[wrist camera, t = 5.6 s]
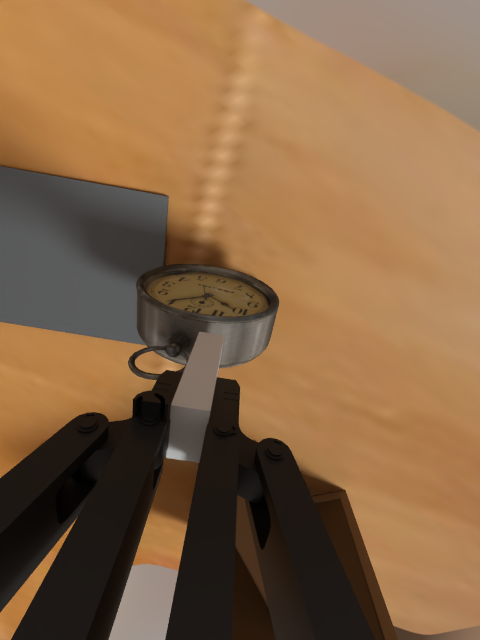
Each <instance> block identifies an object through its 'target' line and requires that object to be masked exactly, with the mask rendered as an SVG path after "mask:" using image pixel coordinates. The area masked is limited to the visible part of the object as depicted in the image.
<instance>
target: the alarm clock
mask: <svg viewBox="0 0 480 640" xmlns="http://www.w3.org/2000/svg"><path fill="white" fill-rule="evenodd" d="M136 289H137V330H138V333H139V336H140V337H141V339H142V340H143V342H144V343H145V344H146V345H147V346H148V347H147V348H144V349H141V350H139V351H137V352H135V353H134V354H133V355H132V356H131V357H130V358H129V361H128V365H129V368H130V370H131V371H132V372H133V373H134V374H136V375H137V376H140V377H142V378H146V379H152V380H157V379H158V377H159V375H161V374H152V373H146V372H143V371H141V370H139V369H138V368H137V367H136V366H135V359H136V358H137V357H138V356H139V355H141V354H143V353H146V352H150V351H154V352H155V353H157V354H159V355H160V356H162V357H164V358H166V359H168V360H171V361H173V362H176V363H179V364H183V365H187V362H188V360H189V357H190V354H191V352H192V349H193V347H194V344H195V342H196V339H197V336H198V334H199V332H205V333H211V334H217V335H223V336H224V340H223V346H222V352H221V358H220V364H219V368H228V367H233V366H238V365H241V364H244V363H247V362H249V361H251V360H253V359H254V358H256V357H257V356H259V355H260V354H261V353H262V352H263V351H264V350H265V349H266V347H267V346H268V344H269V341H270V337H271V334H272V330H273V326H274V322H275V318H276V314H277V310H278V306H279V299H278V296H277V295H276V293H275V292H274V291H273V289H272V288H270V287H269V286H268V285H266V284H265V283H264V282H262V281H260V280H258V279H256V278H254V277H251V276H249V275H247V274H244V273H241V272H238V271H234V270H230V269H226V268H221V267H215V266H208V265H198V264H196V265H195V264H175V265H166V266H161V267H157V268H154V269H151V270H149V271H147V272H145V273H144V274H142V275H141V276H140V277H139V278H138V280H137V282H136ZM185 367H186V366H185ZM185 367H184V368H182V369H181V370H179V371H176V372H182V373H184V370H185Z"/></svg>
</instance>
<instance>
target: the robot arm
mask: <svg viewBox="0 0 480 640" xmlns="http://www.w3.org/2000/svg"><path fill="white" fill-rule="evenodd" d="M223 340H224V336H223V335H217V334H211V333H205V332H199V334H198V336H197V339H196V342H195V344H194V347H193V349H192V352H191V354H190V357H189V360H188V362H187V365H186V367H185V370H184V373H182V372H175V371H169V370H166V371H165V372H163V373H162V374H161V375H159V377H158V379H157V381H156V383H155V385H154V387H153V389H152V391H145V392H142V393H140V394H138V395H136V396H135V398H134V399H133V416H132V418H130V419H127V420H122V421H113V422H109V421H108V419H107V417H106V416H105V415H103V414H101V413H96V412H92V413H85V414H82V415H79V416H77V417H76V418H74V419H73V420H71V421H70V422H69V423H68V424H66V425H65V426H64V427H63V428H61V429H60V430H59V431H58V432H57V433H55V434H54V435H53V436H52V437H50V438H49V439H48V440H47V441H46V442H44V443H43V444H42V445H41V446H39V447H38V448H37V449H36V450H34V451H33V452H32V453H31V454H30V455H28V456H27V457H26V458H25V459H23V460H22V461H21V462H20V463H19V464H17V465H16V466H15V467H14V468H12V469H11V470H10V471H9V472H7V473H6V474H5V475H4V476H3V477H1V478H0V612H1V611H2V610H3V608H4V607H5V606H6V605H7V603H8V602H9V601H10V600H11V599H12V597H13V596H14V595H15V594H16V592H17V591H18V590H19V589H20V587H21V586H22V585H23V584H24V582H25V581H26V580H27V579H28V578H29V576H30V575H31V574H32V573H33V571H34V570H35V569H36V568H37V566H38V565H39V564H40V563H41V561H42V560H43V559H44V558H45V557H46V555H47V554H48V553H49V552H50V550H51V549H52V548H53V547H54V545H55V544H56V543H57V542H58V541H59V539H60V538H61V537H62V536H63V534H64V533H65V532H66V531H67V529H68V528H69V527H70V526H71V524H72V523H73V522H74V521H75V520H76V521H75V523H74V525H73V527H72V529H71V530H70V532H69V534H68V536H67V538H66V540H65V541H64V543H63V545H62V547H61V549H60V551H59V552H58V554H57V556H56V558H55V560H54V562H53V563H52V565H51V567H50V569H49V571H48V573H47V575H46V576H45V578H44V580H43V582H42V584H41V586H40V587H39V589H38V591H37V593H36V595H35V597H34V598H33V600H32V602H31V604H30V606H29V608H28V609H27V611H26V613H25V615H24V617H23V619H22V620H21V622H20V624H19V626H18V628H17V630H16V631H15V633H14V635H13V637H12V639H11V640H108V639H109V636H110V633H111V630H112V626H113V623H114V620H115V617H116V614H117V611H118V608H119V605H120V602H121V598H122V595H123V592H124V589H125V586H126V583H127V580H128V577H129V573H130V570H131V567H132V564H133V561H134V558H135V555H136V552H137V549H138V545H139V542H140V539H141V536H142V533H143V530H144V527H145V524H146V520H147V517H148V514H149V511H150V508H151V505H152V502H153V499H154V495H155V492H156V489H157V486H158V483H159V480H160V477H161V474H162V470H163V461H164V458H165V455H166V458H170V459H177V460H184V461H191V462H198V463H199V467H198V473H197V478H196V483H195V488H194V493H193V499H192V504H191V509H190V514H189V519H188V525H187V530H186V535H185V540H184V545H183V551H182V556H181V561H180V566H179V571H178V577H177V582H176V587H175V592H174V597H173V603H172V608H171V613H170V618H169V624H168V629H167V634H166V639H165V640H232V618H233V593H234V568H235V543H236V517H237V495H238V496H240V497H242V498H244V499H245V505H246V509H247V514H248V518H249V523H250V527H251V532H252V536H253V540H254V545H255V549H256V554H257V558H258V563H259V567H260V572H261V576H262V581H263V585H264V590H265V594H266V598H267V603H268V607H269V612H270V616H271V621H272V625H273V630H274V634H275V639H276V640H375V638H374V636H373V633H372V631H371V629H370V627H369V624H368V622H367V620H366V618H365V616H364V613H363V611H362V609H361V607H360V604H359V602H358V600H357V598H356V595H355V593H354V591H353V589H352V586H351V584H350V582H349V580H348V577H347V575H346V573H345V571H344V568H343V566H342V564H341V562H340V560H339V557H338V555H337V553H336V551H335V548H334V546H333V544H332V542H331V539H330V537H329V535H328V533H327V530H326V528H325V526H324V524H323V521H322V519H321V517H320V515H319V512H318V510H317V508H316V506H315V504H314V501H313V499H312V497H311V495H310V492H309V490H308V488H307V486H306V483H305V481H304V479H303V477H302V474H301V472H300V470H299V468H298V465H297V463H296V461H295V459H294V456H293V454H292V452H291V450H290V449H289V447H288V446H287V445H286V444H285V443H283V442H282V441H280V440H278V439H274V438H267V439H263V440H262V441H260V442H259V443H258V442H256V441H253V440H251V439H250V438H248V437H246V436H245V435H244V434H243V433H242V432H241V430H240V428H239V423H238V422H239V400H240V386H239V384H238V383H237V381H236V380H230V379H224V378H218V377H217V376H218V370H219V364H220V358H221V352H222V346H223ZM166 452H167V453H166ZM77 517H78V518H77ZM76 518H77V519H76Z"/></svg>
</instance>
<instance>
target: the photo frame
mask: <svg viewBox="0 0 480 640" xmlns="http://www.w3.org/2000/svg"><path fill="white" fill-rule="evenodd" d="M311 497H312V499H313V501H314V504H315V506H316V508H317V510H318V512H319V515H320V517H321V519H322V521H323V524H324V526H325V528H326V530H327V533H328V535H329V537H330V539H331V542H332V544H333V546H334V548H335V551H336V553H337V555H338V557H339V560H340V562H341V564H342V566H343V568H344V571H345V573H346V575H347V577H348V580H349V582H350V584H351V586H352V589H353V591H354V593H355V595H356V598H357V600H358V602H359V604H360V607H361V609H362V611H363V613H364V616H365V618H366V620H367V622H368V624H369V627H370V629H371V631H372V633H373V636H374V638H375V640H398V638H397V636H396V633H395V630H394V627H393V624H392V621H391V618H390V616H389V613H388V610H387V607H386V604H385V601H384V599H383V596H382V593H381V590H380V587H379V584H378V581H377V579H376V576H375V573H374V570H373V567H372V564H371V562H370V559H369V556H368V553H367V550H366V547H365V545H364V542H363V539H362V536H361V533H360V530H359V528H358V525H357V522H356V519H355V516H354V513H353V511H352V508H351V505H350V502H349V499H348V496H347V494H346V491H345V490H344V491H339V492H333V493H328V494H322V495H317V496H311ZM232 640H276V639H275V634H274V630H273V625H272V621H271V616H270V612H269V607H268V603H267V598H266V594H265V590H264V585H263V581H262V576H261V572H260V567H259V563H258V558H257V554H256V549H255V545H254V540H253V536H252V532H251V527H250V523H249V518H248V514H247V509H246V505H245V499H244V498H242V497H240V496H238V495H237V517H236V543H235V568H234V593H233V618H232Z"/></svg>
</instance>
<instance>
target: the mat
mask: <svg viewBox="0 0 480 640" xmlns="http://www.w3.org/2000/svg"><path fill="white" fill-rule="evenodd" d="M168 197H169V196H163V195H158V194H152V193H147V192H141V191H135V190H130V189H124V188H119V187H113V186H108V185H102V184H97V183H91V182H86V181H80V180H75V179H69V178H64V177H58V176H53V175H47V174H41V173H36V172H30V171H25V170H19V169H14V168H8V167H3V166H0V322H5V323H11V324H17V325H24V326H30V327H36V328H42V329H48V330H55V331H61V332H67V333H73V334H79V335H86V336H92V337H98V338H104V339H111V340H117V341H123V342H129V343H135V344H142V345H146V344H145V343H144V342H143V340H142V339H141V337H140V336H139V333H138V330H137V289H136V282H137V280H138V278H139V277H140V276H141V275H142V274H144V273H145V272H147V271H149V270H151V269H154V268H157V267H161V266H164V260H165V245H166V229H167V213H168Z"/></svg>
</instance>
